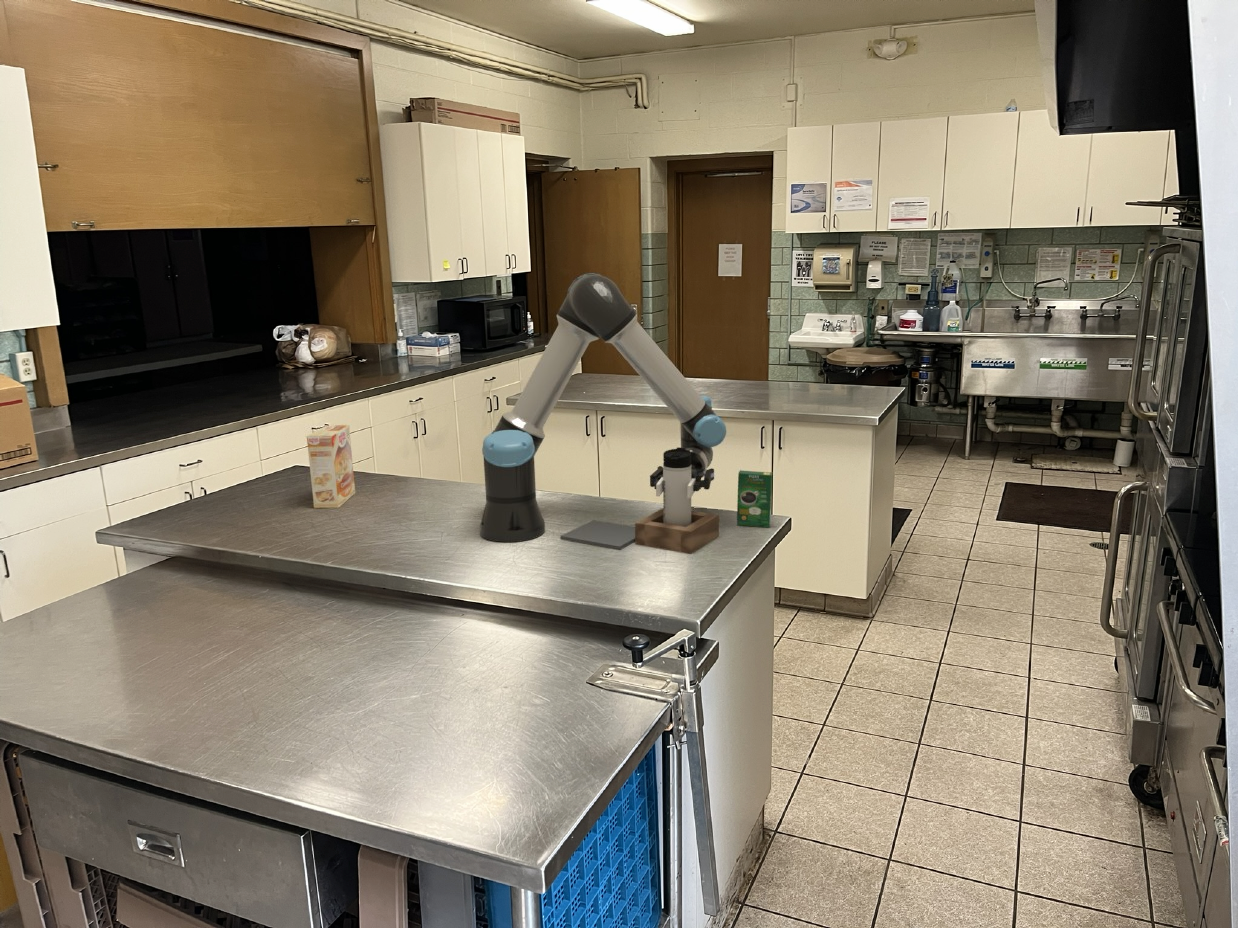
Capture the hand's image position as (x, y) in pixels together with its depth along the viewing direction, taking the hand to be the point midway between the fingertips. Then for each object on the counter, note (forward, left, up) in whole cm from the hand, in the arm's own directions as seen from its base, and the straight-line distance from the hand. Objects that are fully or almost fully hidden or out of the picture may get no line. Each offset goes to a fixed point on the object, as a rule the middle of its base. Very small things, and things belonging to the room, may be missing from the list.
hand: (673, 491), depth 192 cm
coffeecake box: (-100, -8, -13) cm, 101 cm away
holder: (-2, +5, -13) cm, 14 cm away
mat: (-18, 0, -13) cm, 22 cm away
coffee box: (+9, +23, -13) cm, 28 cm away
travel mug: (-2, +5, -12) cm, 13 cm away
